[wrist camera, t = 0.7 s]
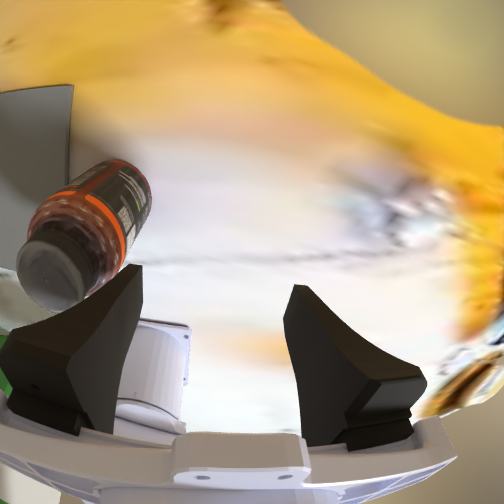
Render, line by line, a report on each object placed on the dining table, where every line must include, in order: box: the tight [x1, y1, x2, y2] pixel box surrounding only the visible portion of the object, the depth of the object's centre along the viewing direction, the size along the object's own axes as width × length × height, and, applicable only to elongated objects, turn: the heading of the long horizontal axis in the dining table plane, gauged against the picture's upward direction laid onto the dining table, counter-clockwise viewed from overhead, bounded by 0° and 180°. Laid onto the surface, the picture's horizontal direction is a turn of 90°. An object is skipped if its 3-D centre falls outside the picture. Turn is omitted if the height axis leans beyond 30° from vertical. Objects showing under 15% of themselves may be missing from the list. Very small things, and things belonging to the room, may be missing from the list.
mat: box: [0, 85, 74, 271], centre depth 18 cm, size 17×15×1 cm
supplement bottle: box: [16, 160, 152, 313], centre depth 16 cm, size 6×6×11 cm
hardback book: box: [0, 335, 61, 504], centre depth 21 cm, size 18×7×24 cm, turn 179°
